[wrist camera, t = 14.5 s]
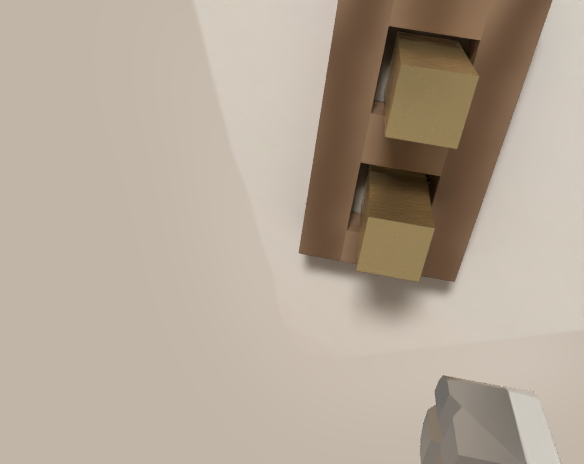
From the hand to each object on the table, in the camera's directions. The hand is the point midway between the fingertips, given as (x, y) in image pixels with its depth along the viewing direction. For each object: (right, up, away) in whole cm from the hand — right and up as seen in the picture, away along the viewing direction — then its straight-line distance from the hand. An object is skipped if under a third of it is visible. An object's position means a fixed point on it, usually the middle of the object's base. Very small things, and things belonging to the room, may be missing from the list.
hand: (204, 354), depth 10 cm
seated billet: (+10, +13, +27) cm, 32 cm away
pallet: (+10, +9, +29) cm, 32 cm away
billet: (+9, +6, +32) cm, 33 cm away
